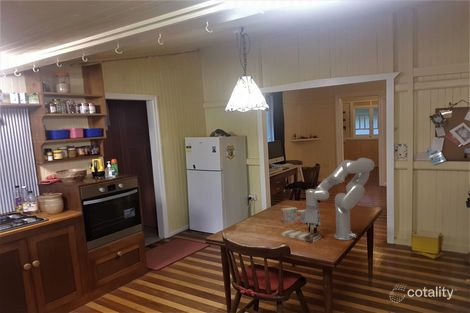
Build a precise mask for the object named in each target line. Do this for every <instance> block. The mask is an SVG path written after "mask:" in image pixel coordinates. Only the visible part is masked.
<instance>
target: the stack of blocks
mask: <svg viewBox="0 0 470 313" xmlns="http://www.w3.org/2000/svg"><path fill="white" fill-rule="evenodd" d="M305 210H306V208H305V209H298V208H297V207H296V206H294V207H292V206H291V207H284V208H280V216H281V224H282V225H294V224H300V223H304V219H305Z"/></svg>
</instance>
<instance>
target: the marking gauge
mask: <svg viewBox="0 0 470 313" xmlns="http://www.w3.org/2000/svg"><path fill="white" fill-rule="evenodd" d="M316 235H320V231H319V230H317V233H314V223H311V224H310V234H309V235H306V236H305V240H304V241H305V242H310V243H313V242H312V241H313V237H315V236H316Z"/></svg>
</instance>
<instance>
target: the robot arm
mask: <svg viewBox="0 0 470 313" xmlns="http://www.w3.org/2000/svg"><path fill="white" fill-rule="evenodd" d="M374 168H375V162H374V160H373V159H370V158H367V157H359V158H358V159H356V160H350V159H344V160H343V161H341V163H340V164H339V165H337V167H336V168H335V169H334V170H333V172H332V173H331V174H329V175H328V176H327V177H326V178H325V179H322V181H321V182H320V184H318V186H317V187H315V188H309V189H306V191H305V198H306V199H305V204H306V208H305V219H304V222H303V223H305V225H306V226H307V229H308V233H310V224H311V223H313V224H314V233H317V231H318V227H319V226H321V225H322V222H321V214H320V213H321V212H320V209H319V208H320V206H319V205H318V201H326V200H328V199H329V198H330V193H329V190H330V189H331V188H332V187H333V186H336V185H339V184H341V183H342V182H343V181H344V179H346V177H347V176H348V175H349V174H355V175H354V176H353V177H352V178H351V180H350V181H349V182H348V183H347V184H346V186H345V191H346V193H345V192H339V193H337V194H336V195H335V197H334V205H335V207H334V208H335V230H336V231H335V234H333V238H334V239H336V240H340V241H350V240H353V238H355V239H356V238H357V234H356V233H353V231H352V230H351V209H353V208H354V207H355V206H356V205H357V204H358V203H359V202H360V200H361V199H362V197H363V196H364V195H365V191H366V190H365V187H364V186H365V185H366V183H367V182H368V180H369V177H370V172H372V171H373V170H374Z"/></svg>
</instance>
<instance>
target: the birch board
mask: <svg viewBox="0 0 470 313" xmlns="http://www.w3.org/2000/svg"><path fill="white" fill-rule="evenodd" d="M309 234H310V233H309V232H305V231H299V230H295V229H287V230H285V231H284V232H281V236H282V237H286V238H291V239H292V238H293V239H297V240H300V241H301V240H302V241H305V236H306V235H309ZM320 239H322V236H321V234H318V235H316V236H315V237H313V241H312V242H311V243H315V242H317V241H318V240H320Z"/></svg>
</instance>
